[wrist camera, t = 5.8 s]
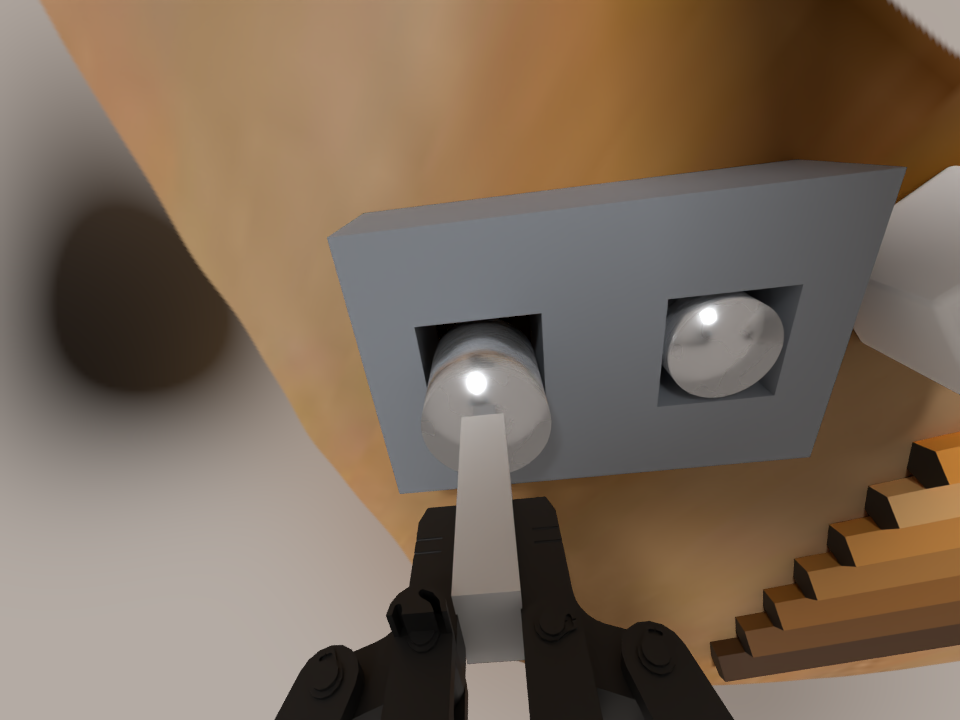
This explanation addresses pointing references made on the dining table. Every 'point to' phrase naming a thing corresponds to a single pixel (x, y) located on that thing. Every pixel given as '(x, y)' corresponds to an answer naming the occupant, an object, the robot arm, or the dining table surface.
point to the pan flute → (866, 580)
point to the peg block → (622, 307)
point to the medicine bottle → (919, 283)
